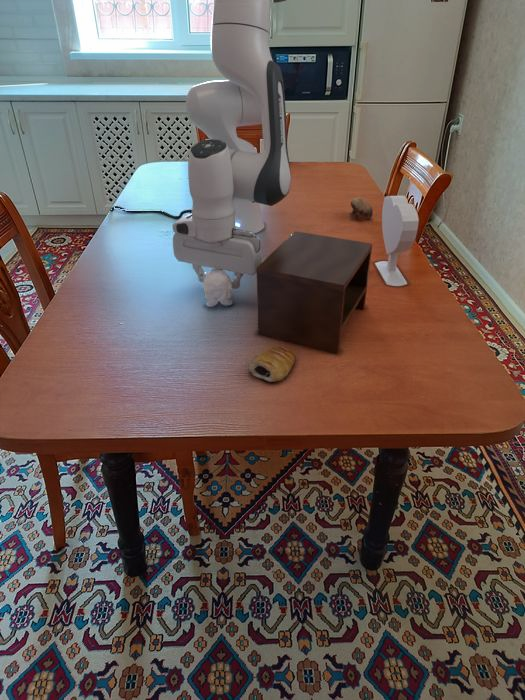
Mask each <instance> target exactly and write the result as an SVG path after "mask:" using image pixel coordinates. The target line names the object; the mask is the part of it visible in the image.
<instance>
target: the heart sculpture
mask: <svg viewBox="0 0 525 700" xmlns="http://www.w3.org/2000/svg"><path fill="white" fill-rule="evenodd" d="M381 212H382V213H381V229H382V237H383V242H384V248H385V254H386V255H388V257H387V260H381V261H377V262H374V264H375V267H376V268H377V270H378V272H379V274H380V275H381V277H382V278H383V280H384V282H385V284H386V285H387V286H393V287H402V286H405V285H408V282H407V280H406V279H405V277H404V276H403V274H402V273H401V271H400V270H399V268H398V266H397V265H398V259H399V255H401V254H403V253H406V252H408V251H410V250H411V249H412V247H413V245H414V243H415V241H416V239H417V234H418V230H419V222H420V219H419V214H418V212H417V209H416V207H415V206H414V204H412V203H409V202H408V197H406V196H405V195H386V196H385V197H384V198H383V204H382V211H381Z"/></svg>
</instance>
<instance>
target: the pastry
mask: <svg viewBox="0 0 525 700" xmlns="http://www.w3.org/2000/svg"><path fill="white" fill-rule="evenodd" d="M295 361H296V353H295V351H294V350H293V349H291V348H290V347H288V346H286V345H285V346H284V345H280V346H276V347H275V346H274V347H272V348H267V349H266V350H263V351H261V352H260V354H257V355H256V356H255V357H254V358H253V360H252V363H251V364H250V366H249V367H248V370H249V372H250V373H251V375H252V376H253V377H256V378H259V379H261V380H264V381H266V382H269V383H274V382H279V381H282V380H283V379H284V378H286V377H287V376H288V375H289V373H290V372H291V370H292V368H293V366H294V364H295Z"/></svg>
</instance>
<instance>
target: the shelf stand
mask: <svg viewBox="0 0 525 700" xmlns="http://www.w3.org/2000/svg"><path fill="white" fill-rule="evenodd" d="M372 249H373V243H370V242H365V241H358V240H354V239H353V240H352V239H345V238H340V237H333V236H328V235H321V234H315V233H310V232H309V233H308V232H304V231H297V230H294V231H293V232H292V233H291V234H290V235H289V236H288V237H287V238H286V239H285V240H284V241H283V242H282V243H281V244H280V245H279V246H277V248H276V249H274V251H273V252H272V253H270V254H269V255H268V256H267V257H266V258H265V259H264V260H263V261H262V263H261V264H260V265H259V266H258V267H257V273H256V292H257V293H256V298H257V334H258V335H260V336H264V337H268V338H272V339H275V340H276V339H277V340H280V341H284V342H287V343H292V344H296V345H301V346H303V347H308V348H311V349H317V350H320V351H324V352H328V353H332V354H336V355H338V354H339V353H340V349H341V340H342V332H343V330H344V328H345V327H346V325H347V323H348V321H349V320H350V318H351V316H352V315H353V313H354V312H355V310H356V309H359V310H364V309H365V306H366V299H367V298H366V297H367V290H368V284H369V283H368V282H369V275H370V266H371V257H372Z"/></svg>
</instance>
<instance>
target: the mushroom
mask: <svg viewBox="0 0 525 700" xmlns="http://www.w3.org/2000/svg"><path fill="white" fill-rule="evenodd" d="M350 206H351V208H352V210H351V211H350V212H349V213H348V215H349V217H350V218H351V219H352V220H353V219H354V220H356V219H357V218H360V217H362V218H365V219H367V220H370V219H372V217H373V214H374V212H373V206H372V205H371V204H370V203H369V202H368V201H367V200H366V199H364V198H362V197H355V198H353V199H351V200H350Z"/></svg>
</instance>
